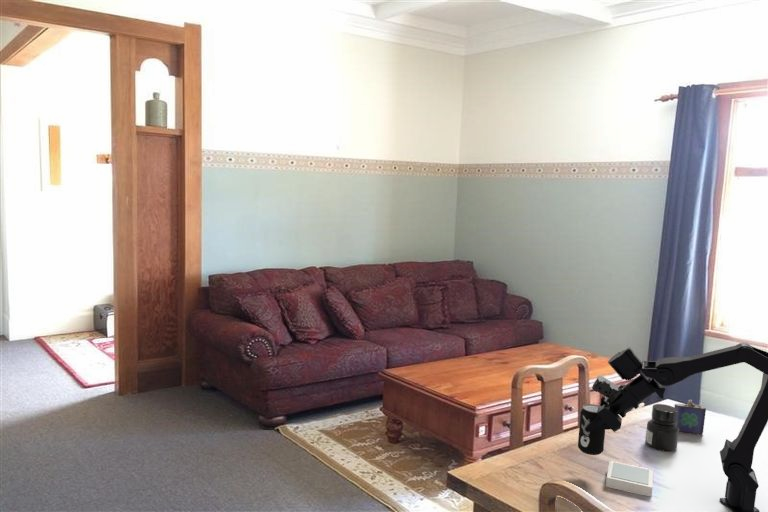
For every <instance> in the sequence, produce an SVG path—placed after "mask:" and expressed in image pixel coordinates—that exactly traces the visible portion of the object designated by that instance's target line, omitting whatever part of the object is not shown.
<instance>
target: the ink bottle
mask: <svg viewBox="0 0 768 512" xmlns="http://www.w3.org/2000/svg"><path fill="white" fill-rule="evenodd" d="M674 407H675V406H671V405H669V404H661V403H654V404H653V405H652V409H651V419H650V420H648V421H647V423H646V430H645V431H646V432H645V438H644V439H645V442H644V443H645V445H646V446H647V447H649V448H651V449H654V450H656V451H660V452H667V453H669V452H674V451H676V450H677V448H678V443H679V428H678V426H677V425H676V424H675V422H676V418H677V409H676V408H674Z"/></svg>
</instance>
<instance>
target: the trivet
mask: <svg viewBox="0 0 768 512" xmlns="http://www.w3.org/2000/svg"><path fill="white" fill-rule="evenodd" d="M653 484H654V469H652V468H646V467H642V466H641V467H640V466H637V465H632V464H628V463H624V462H617V461H612V460H609V463H608V468H607V475H606V480H605V487H606V488H610V489H614V490H615V489H616V490H618V491H619V490H620V491H624V492H629V493H632V494H637V495H641V496H646V497H649V498H651V497H652V496H653V488H654V487H653V486H654V485H653Z"/></svg>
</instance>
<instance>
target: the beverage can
mask: <svg viewBox="0 0 768 512" xmlns="http://www.w3.org/2000/svg"><path fill="white" fill-rule="evenodd" d="M598 407H599V408H600V407H601V406H600V405H598V404H594V403H593V404H592V403H589V404H588V403H587V404H584V405H582V409H580V410H581V411H580V416H579V427H578V428H579V429H578V440H577V441H578V442H577V447H578V449H579V450H580V451H581V453H583V454H586V455H590V456H599V455H600V454H602V453H603V452H604V450H605V449H604V446H605V436H606V430H599V431H592V432H586V430H585V427H586V426H587V425H588V424H589V423H590V422H591V421H592V420H593V419H594V418H595V417H596V416H597V410H598Z"/></svg>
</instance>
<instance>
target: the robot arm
mask: <svg viewBox="0 0 768 512" xmlns="http://www.w3.org/2000/svg"><path fill="white" fill-rule="evenodd" d="M607 363H608V365H609V366H610V367H611V368H612V370H614V372H616V374H617V375H618V376H619V377H620V378H621V380H623V381H624V380H625V381H630V382H628V383H627V384H625V383H624V384H620V385H617V384H616V383H614V382H613V381H611V380H609V379H608V378H606V377H604V375H598V376H597V377H596V379H595V381H594V382H593V384H592V387H591V388H592V390H593V391H595V392H596V393H599V394H601V396H600V397H601V398H600V403H599V404H600V405H599V406H601V407H600V408H599V407H598V410H597V416H596V417H595V418H594V419H593V420H592V421H591V422H590V423H589V424H588V425H587V426H586V427H585V430H586V432H592V431H599V430H605V431H607V430H608V431H609V430H611V431H612V432H613V433H616V432H617V431H619V430H620V429H621V428H622V421H623V418H625V417H626V415H627V413H628V412H630V411H631V410H634V409H635V410H637V409H638V408H639V407H640V405H641V404H642V403H644V402H645V401H647V400H648V399H650V398H651V397H652V396H654V395H658V397H659V398H660V399H661V400H663V399H664V398H665V391H666V387H668V386H669V387H670V386H672V385H676V384H678V383H679V382H682V381H684V380H686V379H687V378H689V377H691V376H693V375H695V374H699V373H705V372H707V371H712V370H717V369H721V368H725V367H729V366H730V367H731V366H734V365H739V364H742V363H745V364H747V365H749V366H750V367H753V368H755V369H756V370H758V371H759V372H761V373H762V380H761V384H760V385H761V386H760V389H759V391H758V393H757V396H756V398H755V399H754V401H753V404H752V406H751V408H750V410H749V412H748V414H747V417H746V418H745V420H744V423H743V424H742V427H741V429H740V430H739V432H738V435H737V437H736V438H734V439H733V441H730V440H729V439H725V442H724V446H723V448H722V449H721V450H720V451H719V455H720V460H721V465H722V470H723V473H724V475H725V476H726V477H727V481H726V486H725V492H724V493H725V494H724V497H719V502H721V503H723V504H724V505H725V506H726V507H728V509H730V510H731V511H732V512H760V509H758V508H757V507H756V506H755V505H756V498H757V490H758V488H759V481H758V480H757V479H758V478H757V475H756V472H755V470H754V469H753V468H752V465H753V462H754V461H753V459H754V454H755V453H754V452H755V448H756V446H757V444H758V442H759V440H760V437H761V436H762V434H763V432H764V430H765V428H766V426H767V424H768V351H766V350H763V349H761V348H757V347H755V346H752V345H751V344H749V343H747V342H739V343H738V344H736V345H732V346H728V347H724V348H719V349H714V350H712V351H707V352H705V353H701V354H696V355H691V356H685V357H684V356H682V357H681V356H672V357H671V356H670V357H662V358H659V359H657V360H642V361H641V360H640V359H639V357H638V356H637V355H636V354H635V352H634V351H633V349H632V348H631V347H627V348H625V349H623V350H621V351H618V352H617V353H615V354H614V355H613V356H612V357H611V358H609V359H608V361H607Z"/></svg>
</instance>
